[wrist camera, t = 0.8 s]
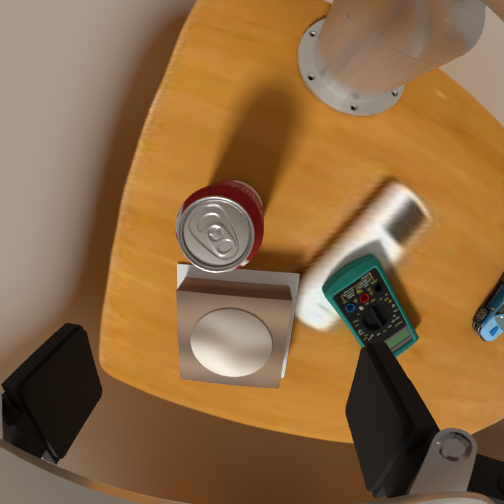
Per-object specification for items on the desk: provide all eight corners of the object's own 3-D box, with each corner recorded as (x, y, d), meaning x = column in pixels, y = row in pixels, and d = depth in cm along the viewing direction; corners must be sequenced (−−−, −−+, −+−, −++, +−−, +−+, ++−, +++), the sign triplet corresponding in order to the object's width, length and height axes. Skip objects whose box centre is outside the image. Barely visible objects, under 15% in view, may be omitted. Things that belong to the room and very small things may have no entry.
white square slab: (177, 263, 34) (177, 264, 34) (299, 273, 34) (299, 274, 34) (181, 367, 39) (180, 367, 38) (283, 376, 38) (283, 377, 38)
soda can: (239, 167, 31) (226, 167, 20) (275, 218, 33) (282, 247, 21) (189, 203, 33) (150, 223, 21) (225, 252, 34) (205, 297, 22)
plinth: (185, 276, 35) (176, 291, 31) (289, 285, 34) (292, 301, 30) (187, 360, 38) (180, 379, 34) (277, 368, 38) (278, 389, 34)
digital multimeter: (368, 247, 34) (376, 254, 31) (413, 331, 37) (422, 342, 34) (317, 282, 35) (321, 292, 32) (370, 360, 38) (376, 373, 35)
